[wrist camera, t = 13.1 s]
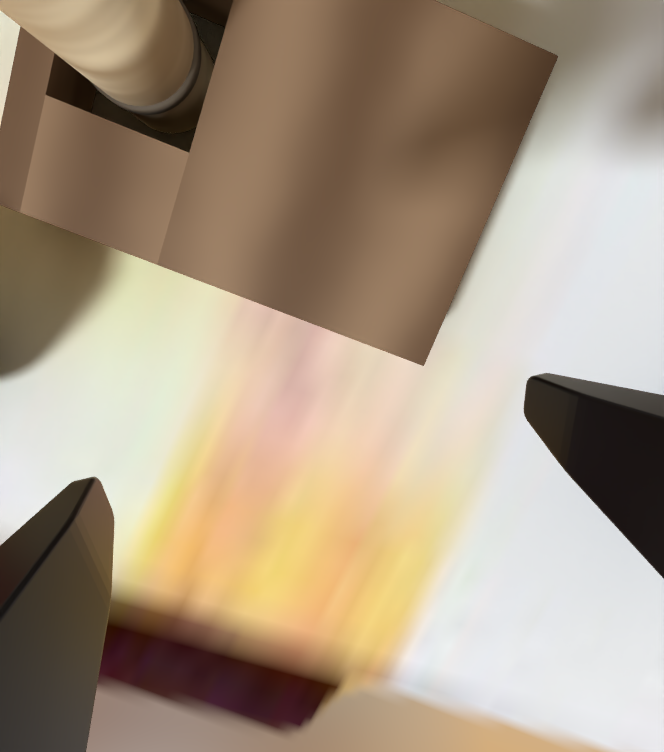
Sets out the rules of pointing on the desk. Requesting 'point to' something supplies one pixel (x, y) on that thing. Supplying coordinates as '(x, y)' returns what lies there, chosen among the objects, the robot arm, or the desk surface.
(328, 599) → the desk surface
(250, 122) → the walnut board
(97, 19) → the birch dowel
